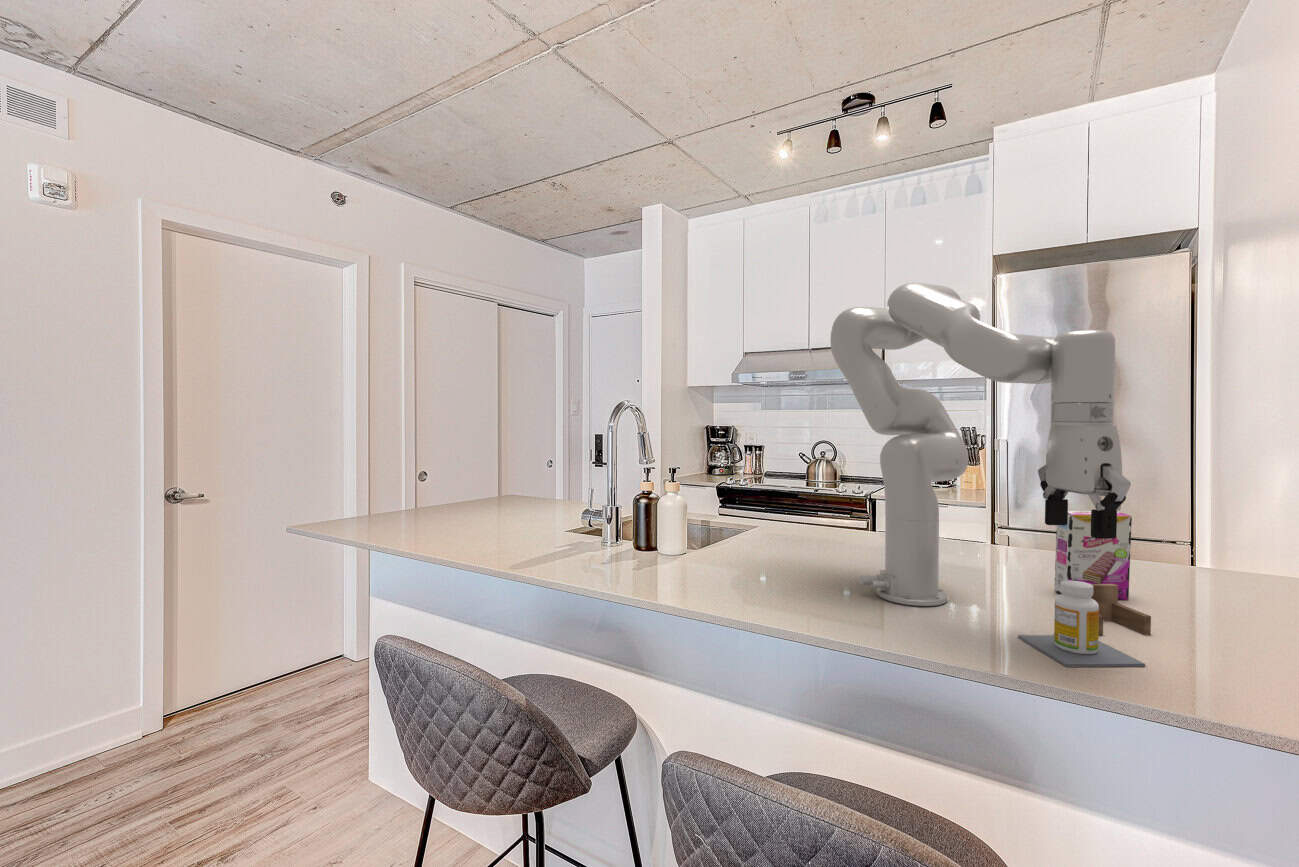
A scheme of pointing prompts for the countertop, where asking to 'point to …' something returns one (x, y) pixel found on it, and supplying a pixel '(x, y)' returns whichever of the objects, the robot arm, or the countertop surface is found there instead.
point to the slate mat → (1102, 658)
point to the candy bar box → (1093, 553)
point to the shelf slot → (1118, 610)
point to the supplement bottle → (1076, 618)
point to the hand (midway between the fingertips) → (1078, 531)
